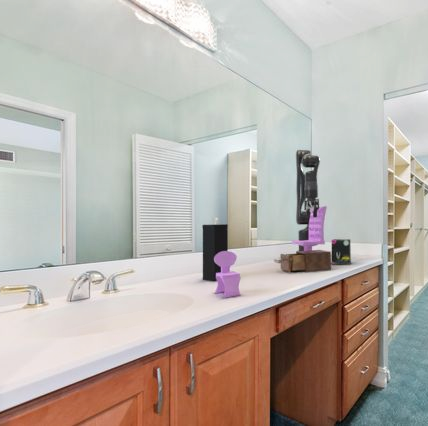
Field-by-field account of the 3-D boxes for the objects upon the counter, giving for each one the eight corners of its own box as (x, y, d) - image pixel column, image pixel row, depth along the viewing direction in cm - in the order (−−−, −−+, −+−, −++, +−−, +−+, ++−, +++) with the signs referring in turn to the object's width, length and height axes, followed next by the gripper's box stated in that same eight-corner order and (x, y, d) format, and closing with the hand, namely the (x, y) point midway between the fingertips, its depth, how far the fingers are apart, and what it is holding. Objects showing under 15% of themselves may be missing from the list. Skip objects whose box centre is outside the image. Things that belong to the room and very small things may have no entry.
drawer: (280, 272, 136) (279, 256, 136) (272, 269, 146) (272, 254, 146) (313, 269, 143) (312, 254, 144) (303, 266, 154) (303, 252, 154)
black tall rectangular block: (228, 278, 128) (227, 217, 129) (214, 281, 121) (214, 217, 122) (216, 276, 132) (215, 217, 133) (202, 279, 125) (202, 217, 126)
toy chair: (220, 298, 92) (220, 253, 93) (211, 293, 99) (211, 251, 100) (243, 294, 97) (243, 251, 98) (234, 290, 104) (233, 249, 105)
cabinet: (306, 272, 141) (305, 253, 141) (296, 268, 152) (296, 251, 153) (331, 269, 147) (330, 251, 148) (319, 266, 159) (319, 249, 159)
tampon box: (331, 264, 167) (331, 239, 168) (333, 262, 176) (333, 239, 177) (349, 264, 165) (349, 239, 165) (351, 262, 174) (350, 239, 174)
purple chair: (291, 263, 171) (291, 207, 173) (315, 261, 180) (315, 207, 181) (303, 266, 158) (302, 205, 160) (328, 264, 167) (327, 206, 168)
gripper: (322, 188, 157) (323, 217, 156) (311, 191, 169) (311, 217, 169) (310, 187, 153) (311, 217, 153) (300, 190, 166) (300, 217, 166)
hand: (311, 217), depth 161 cm, fingers open, 8 cm apart
